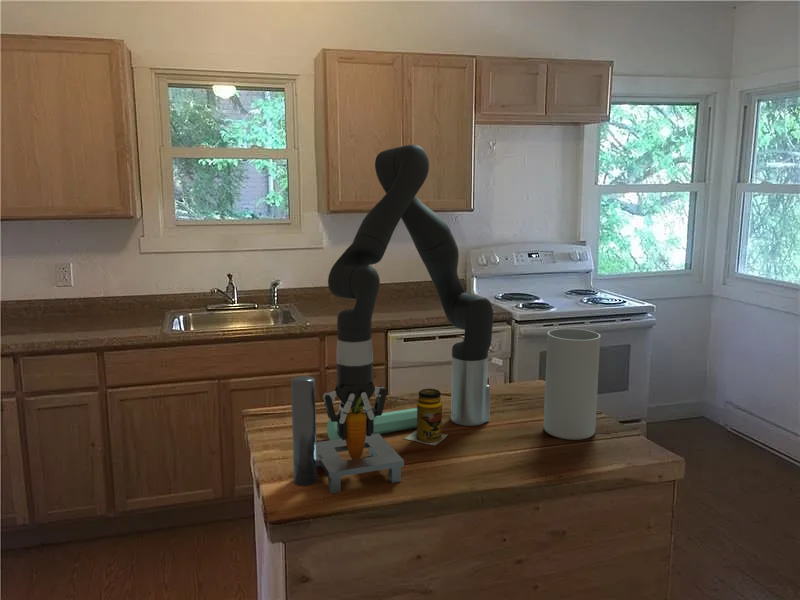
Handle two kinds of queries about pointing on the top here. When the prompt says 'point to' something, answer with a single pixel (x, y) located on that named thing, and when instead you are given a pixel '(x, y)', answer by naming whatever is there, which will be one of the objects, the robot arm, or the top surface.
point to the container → (384, 423)
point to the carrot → (356, 430)
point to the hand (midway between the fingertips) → (355, 436)
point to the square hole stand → (331, 445)
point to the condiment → (428, 418)
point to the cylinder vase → (571, 383)
